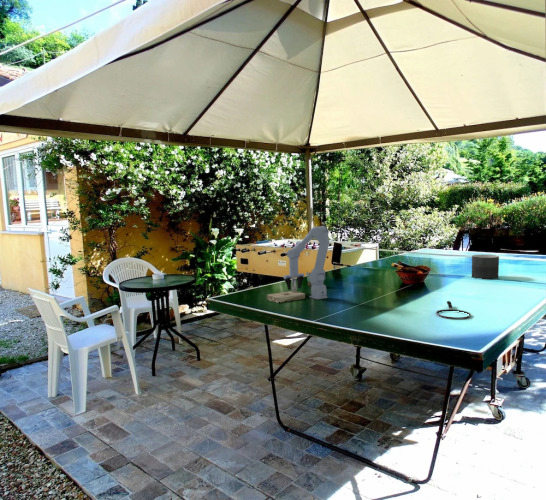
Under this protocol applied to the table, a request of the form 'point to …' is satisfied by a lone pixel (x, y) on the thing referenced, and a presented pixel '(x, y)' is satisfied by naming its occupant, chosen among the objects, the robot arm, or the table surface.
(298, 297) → the hole block
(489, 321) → the table surface
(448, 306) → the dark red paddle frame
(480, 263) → the planter
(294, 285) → the steel peg
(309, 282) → the food container
